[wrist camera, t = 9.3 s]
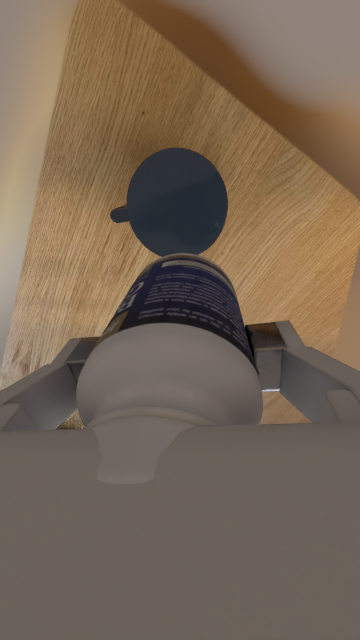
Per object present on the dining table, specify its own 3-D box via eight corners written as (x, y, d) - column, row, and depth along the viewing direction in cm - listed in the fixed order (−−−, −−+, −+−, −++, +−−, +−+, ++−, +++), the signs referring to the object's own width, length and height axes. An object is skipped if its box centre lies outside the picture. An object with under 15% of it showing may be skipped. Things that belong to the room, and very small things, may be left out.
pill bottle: (137, 240, 11) (-38, 424, 3) (248, 262, 11) (374, 496, 3) (130, 332, 14) (29, 558, 6) (219, 348, 14) (244, 591, 6)
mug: (217, 148, 25) (225, 137, 17) (222, 232, 29) (229, 253, 21) (118, 166, 26) (84, 163, 19) (136, 244, 30) (115, 267, 23)
